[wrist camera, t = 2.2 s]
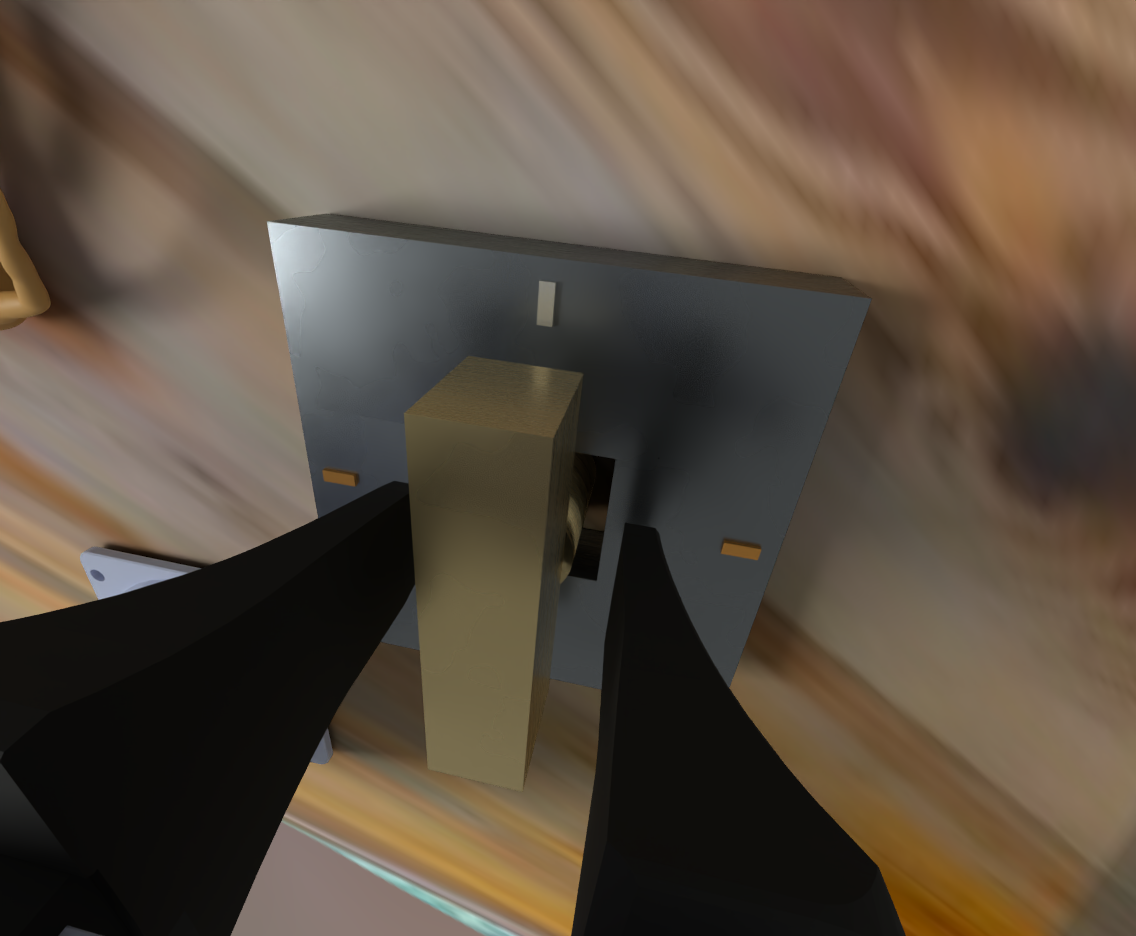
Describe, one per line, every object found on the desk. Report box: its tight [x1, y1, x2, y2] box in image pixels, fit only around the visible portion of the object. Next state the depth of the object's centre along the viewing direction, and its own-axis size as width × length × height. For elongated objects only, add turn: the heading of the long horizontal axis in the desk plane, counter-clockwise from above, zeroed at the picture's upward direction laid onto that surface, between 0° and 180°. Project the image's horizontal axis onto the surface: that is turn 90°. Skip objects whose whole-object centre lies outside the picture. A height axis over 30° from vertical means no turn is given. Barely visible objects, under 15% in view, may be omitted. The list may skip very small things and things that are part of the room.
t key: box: [404, 356, 596, 792], centre depth 12 cm, size 8×2×6 cm, turn 175°
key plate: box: [267, 214, 872, 690], centre depth 13 cm, size 11×11×2 cm
